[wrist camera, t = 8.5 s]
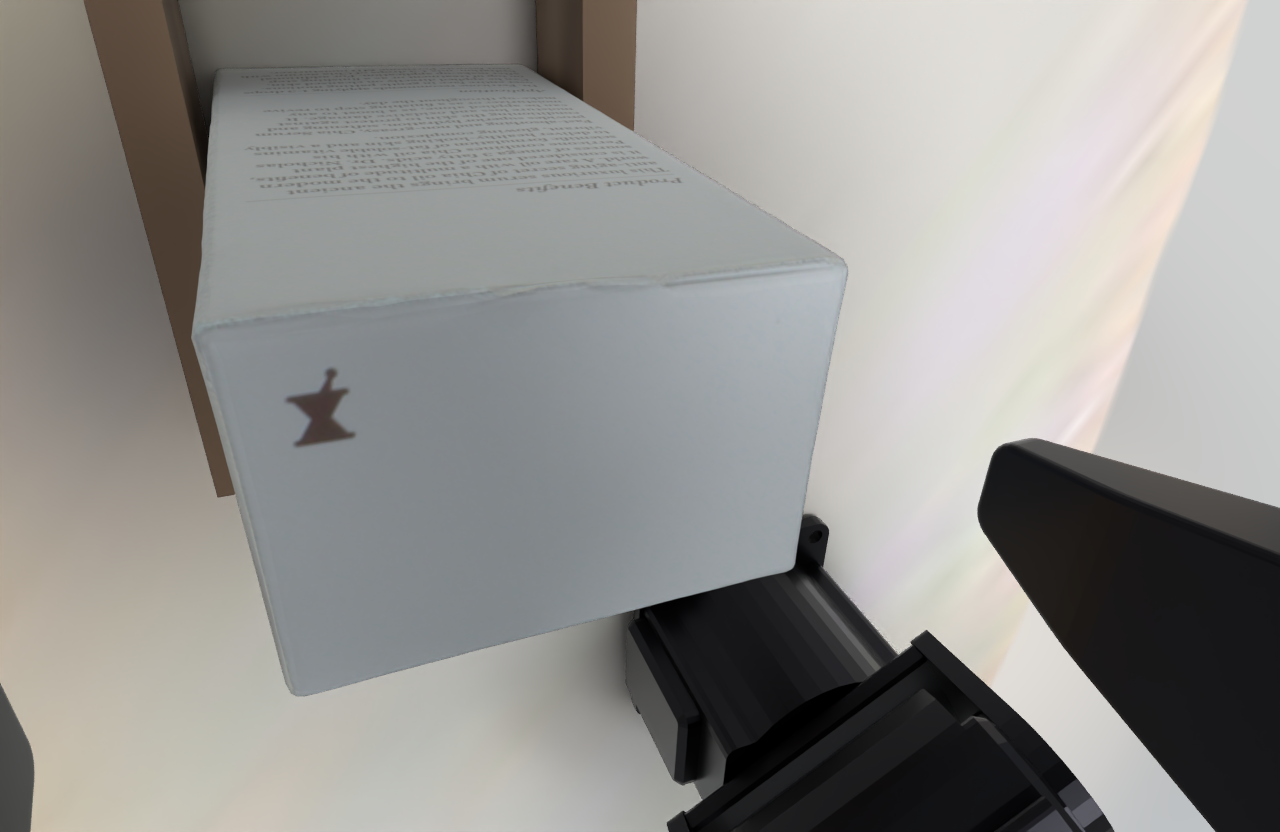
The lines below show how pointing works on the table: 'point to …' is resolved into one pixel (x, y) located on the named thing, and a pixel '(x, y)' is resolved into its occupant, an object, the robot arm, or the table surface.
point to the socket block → (178, 142)
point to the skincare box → (492, 362)
